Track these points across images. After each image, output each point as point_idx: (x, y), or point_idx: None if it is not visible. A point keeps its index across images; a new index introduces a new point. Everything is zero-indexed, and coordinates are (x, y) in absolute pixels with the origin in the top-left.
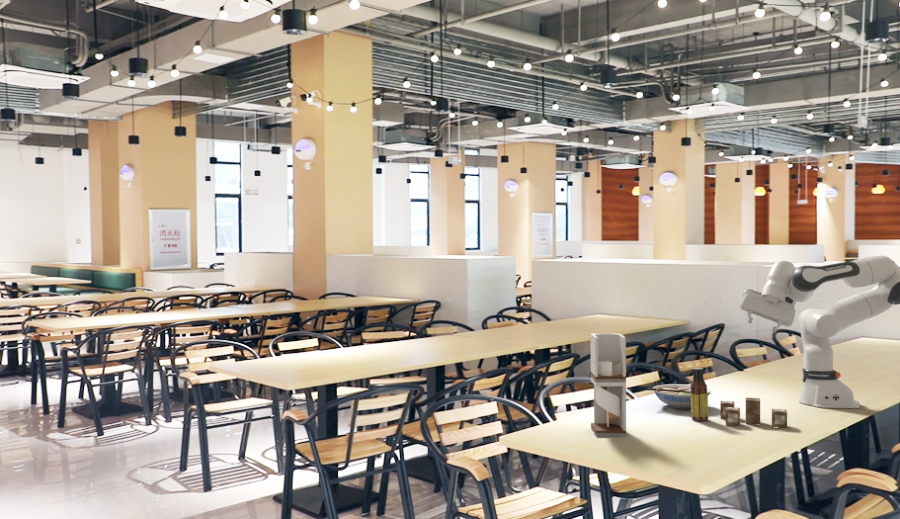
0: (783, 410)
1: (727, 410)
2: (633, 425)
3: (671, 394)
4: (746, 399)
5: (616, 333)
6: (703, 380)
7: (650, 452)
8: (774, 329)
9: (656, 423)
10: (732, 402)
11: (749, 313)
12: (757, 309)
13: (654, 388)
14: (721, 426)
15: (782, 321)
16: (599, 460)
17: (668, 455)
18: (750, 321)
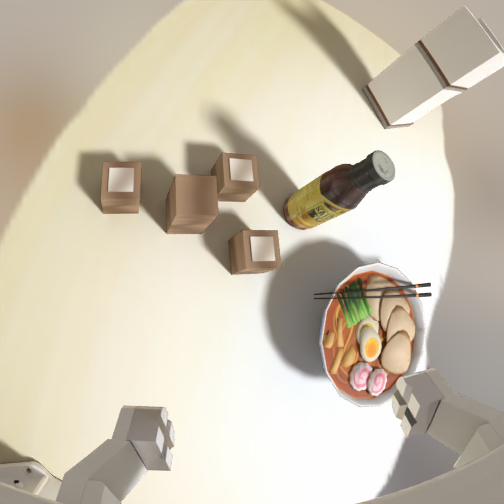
0: (110, 177)
1: (251, 155)
2: (378, 148)
3: (387, 265)
4: (214, 185)
5: (499, 51)
6: (348, 174)
7: (312, 28)
8: (142, 410)
9: None
10: (249, 253)
11: (486, 411)
12: (479, 485)
13: (421, 293)
14: None
15: (53, 501)
16: (343, 15)
17: (291, 18)
18: (412, 375)
